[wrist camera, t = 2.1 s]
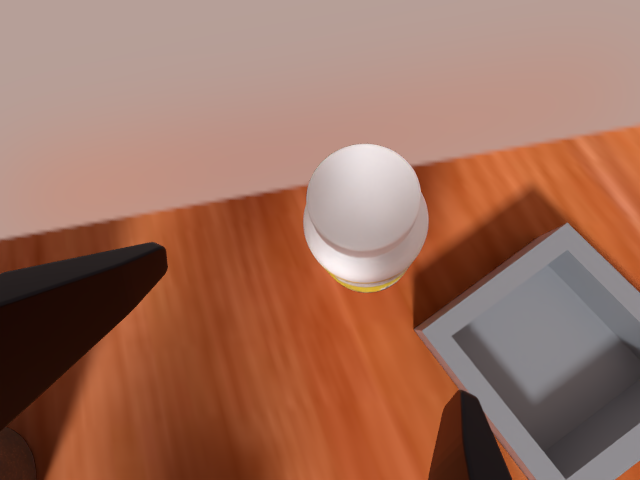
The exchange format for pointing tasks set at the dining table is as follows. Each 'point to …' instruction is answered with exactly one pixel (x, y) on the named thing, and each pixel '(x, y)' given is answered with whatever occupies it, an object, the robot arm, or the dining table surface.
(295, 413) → the dining table surface
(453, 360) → the can holder
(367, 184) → the supplement bottle
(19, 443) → the plant pot
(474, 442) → the robot arm
